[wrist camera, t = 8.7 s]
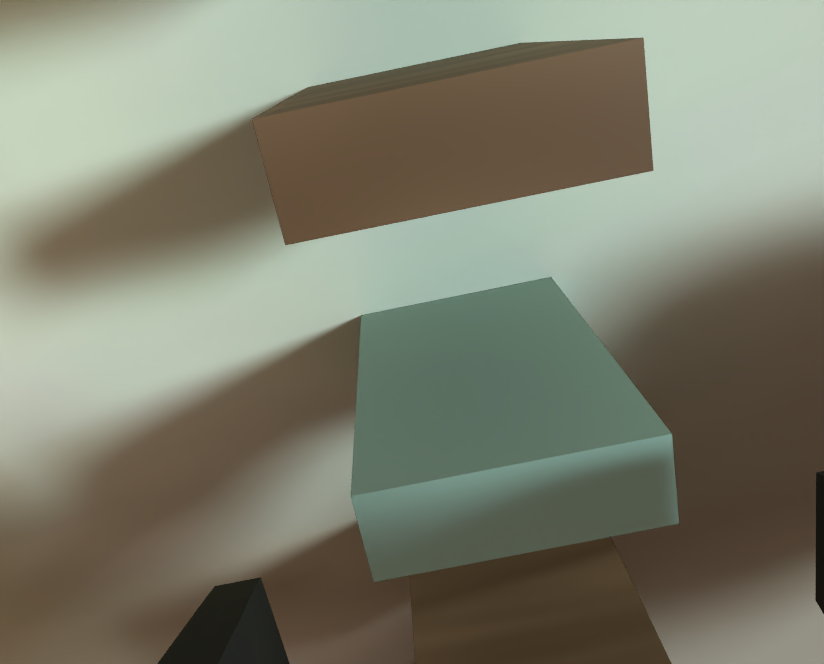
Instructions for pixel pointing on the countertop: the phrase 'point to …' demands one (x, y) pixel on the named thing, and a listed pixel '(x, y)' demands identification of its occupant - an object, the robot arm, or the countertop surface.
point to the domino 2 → (498, 434)
